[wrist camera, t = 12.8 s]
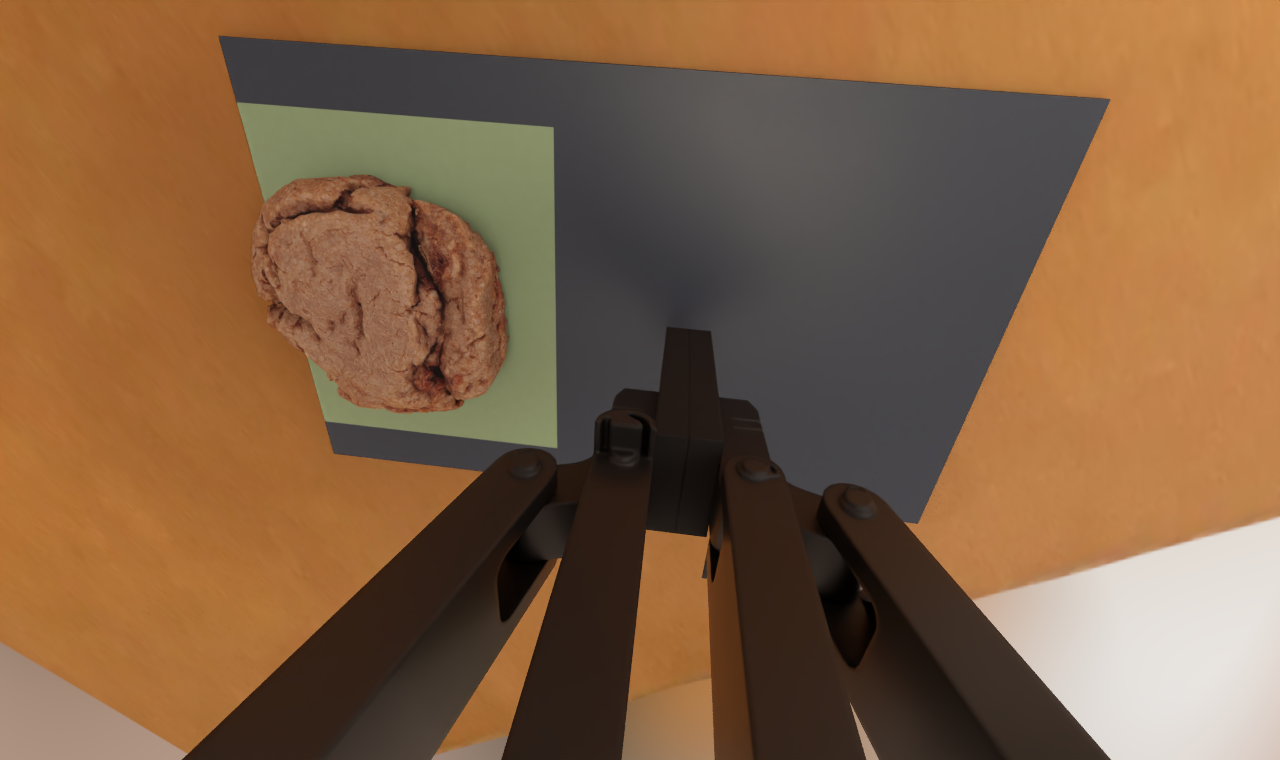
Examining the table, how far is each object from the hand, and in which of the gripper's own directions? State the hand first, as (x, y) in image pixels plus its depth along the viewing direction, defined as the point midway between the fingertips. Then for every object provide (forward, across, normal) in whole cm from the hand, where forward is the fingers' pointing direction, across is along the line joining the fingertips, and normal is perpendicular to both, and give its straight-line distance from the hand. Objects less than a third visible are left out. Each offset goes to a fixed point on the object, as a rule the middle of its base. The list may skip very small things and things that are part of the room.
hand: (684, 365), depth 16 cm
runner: (+4, -2, 0) cm, 5 cm away
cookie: (+4, -12, 0) cm, 13 cm away
